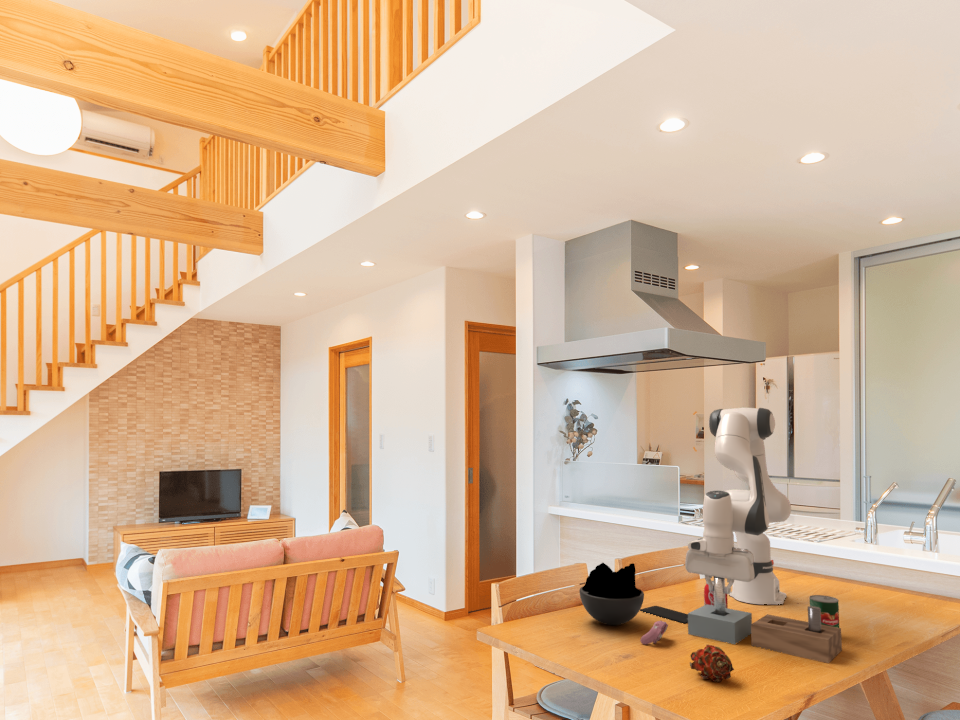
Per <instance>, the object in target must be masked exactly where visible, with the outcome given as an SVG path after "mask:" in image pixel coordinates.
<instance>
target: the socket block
mask: <svg viewBox="0 0 960 720" xmlns="http://www.w3.org/2000/svg"><path fill="white" fill-rule="evenodd" d="M687 614H688V623H687V633H688V635H691V636H695V637H700V638H705V639H709V640H714V641H719V642H723V643H726V642H727V643H728V644H730V643H731V644H730V645H736V643H737V644H738V643H740V642H741V641H742V639H743V640H745V639H746V638H748V637H749V636H751V635H750V634H751V624H752V623H753V614H752V612H749V611H748V612H747V611H744V610H743V611H742V610H738V609H733V608H726V615H725V616H721V615H716V614H715V613H714V606H713V605H707V604H706V605H704V604H703V605H701V606H700V607H698V608H696V609H694V610H692V611H690V612H688V613H687ZM748 635H749V636H748ZM745 637H746V638H745ZM739 641H740V642H739ZM727 643H726V644H727Z"/></svg>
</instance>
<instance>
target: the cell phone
mask: <svg viewBox="0 0 960 720" xmlns="http://www.w3.org/2000/svg"><path fill="white" fill-rule="evenodd" d="M640 611H643V612H642V613H644V612H646V613H645V614H647V613H650V614H649V615H651V614H653V615H652V616H654V615H656V616H655V617H658V616H659V617H658V618H661V617H662V619H665V618H666V620H668V619H669V621H673V622H675V621H676V623H679V624H682V623H683V624H682V625H688V613H684V612H681V611H677V610H674V609H671V608H667V607H663V606H659V605H652V606H649V607H644V608H641V609H640V610H639V612H640Z"/></svg>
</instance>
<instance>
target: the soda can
mask: <svg viewBox="0 0 960 720" xmlns="http://www.w3.org/2000/svg"><path fill="white" fill-rule="evenodd" d="M711 581H712V583H713V584H714V580H711ZM703 589H704V590H703V600H704V601H703V606H704V605H706V604H707V605H713V606H714V591H709V585H708V583H707V582H706V581H705V585H704V588H703ZM725 604H726V608H728V594H726V593H725ZM728 609H729V608H728Z"/></svg>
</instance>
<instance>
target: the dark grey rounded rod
mask: <svg viewBox="0 0 960 720" xmlns="http://www.w3.org/2000/svg"><path fill="white" fill-rule="evenodd" d="M807 622H808V630H809V631H811V632H816V633H821V609H820V608H819V607H814V606H810V605H809V606H807Z"/></svg>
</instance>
